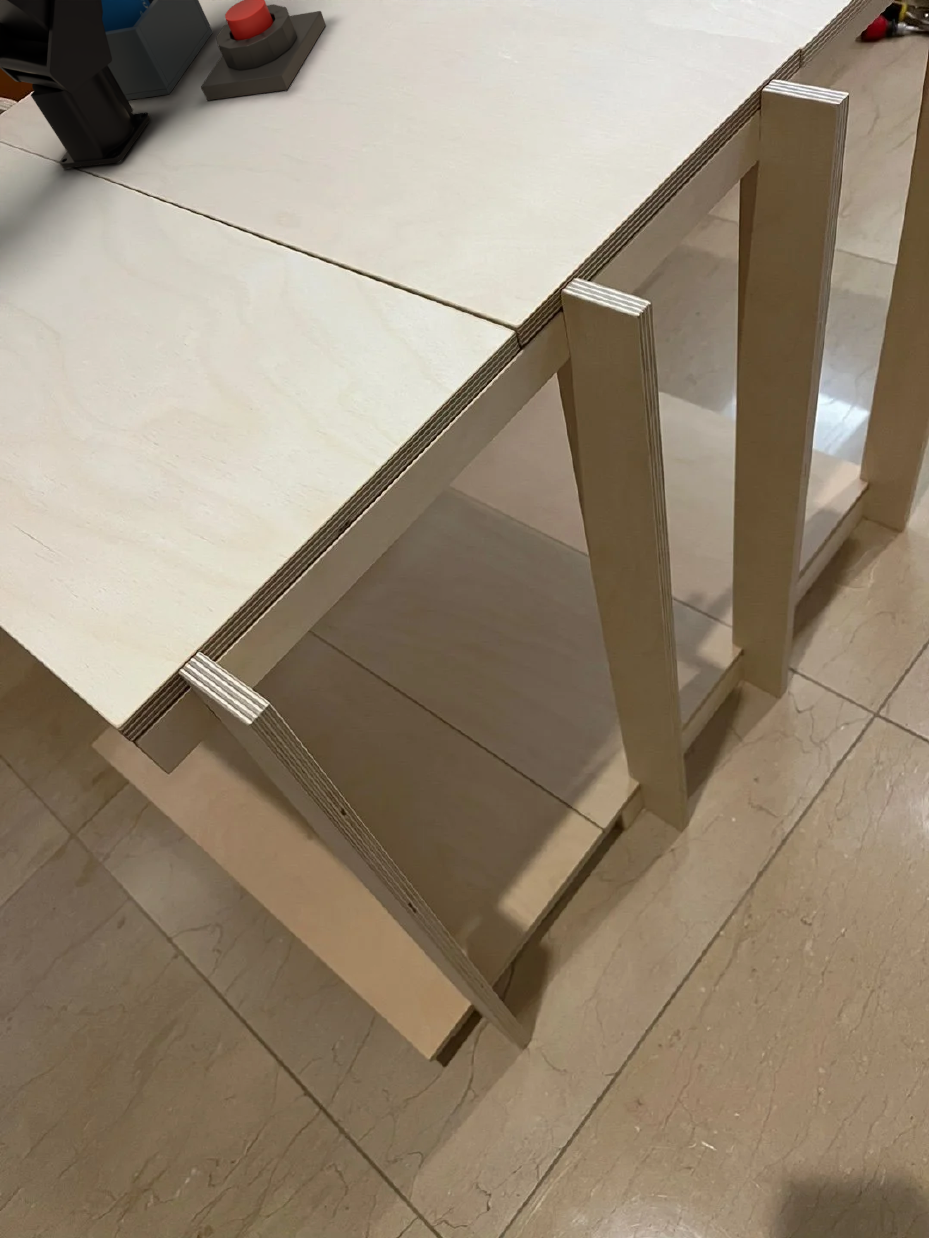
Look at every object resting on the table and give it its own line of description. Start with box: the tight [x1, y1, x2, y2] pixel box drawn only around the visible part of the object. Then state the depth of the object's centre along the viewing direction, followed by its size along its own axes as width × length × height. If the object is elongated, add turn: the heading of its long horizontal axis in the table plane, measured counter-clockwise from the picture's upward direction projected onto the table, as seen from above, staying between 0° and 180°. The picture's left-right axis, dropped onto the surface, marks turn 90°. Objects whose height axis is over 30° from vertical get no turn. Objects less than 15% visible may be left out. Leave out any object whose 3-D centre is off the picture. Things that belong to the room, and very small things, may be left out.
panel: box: [200, 4, 326, 101], centre depth 78 cm, size 10×8×3 cm
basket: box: [105, 0, 214, 101], centre depth 82 cm, size 10×10×6 cm
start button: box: [224, 0, 273, 41], centre depth 76 cm, size 4×4×2 cm
